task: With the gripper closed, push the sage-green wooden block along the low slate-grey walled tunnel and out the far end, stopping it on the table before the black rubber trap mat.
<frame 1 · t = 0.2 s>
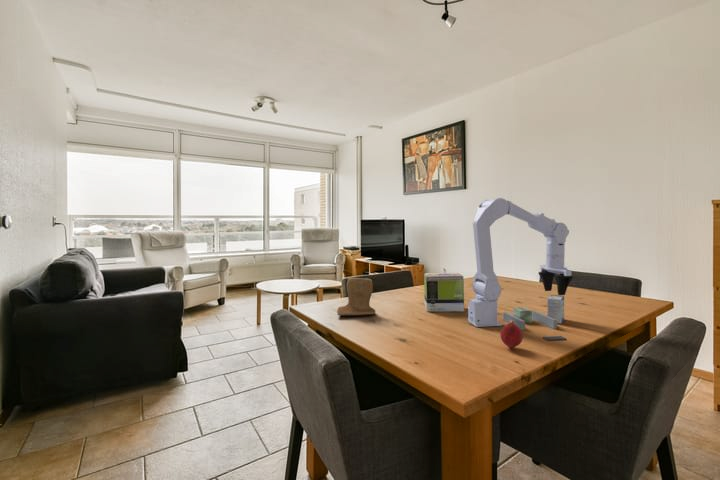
hand: (554, 292, 124), 10 cm above the table, tool pointing down, fingers open, 7 cm apart
tunnel: (528, 324, 120), on the table
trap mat: (554, 338, 104), on the table
tea box: (443, 309, 143), on the table
brown flared block: (356, 314, 136), on the table
green block: (522, 321, 124), on the table
onion: (511, 349, 97), on the table
medicine box: (555, 321, 124), on the table
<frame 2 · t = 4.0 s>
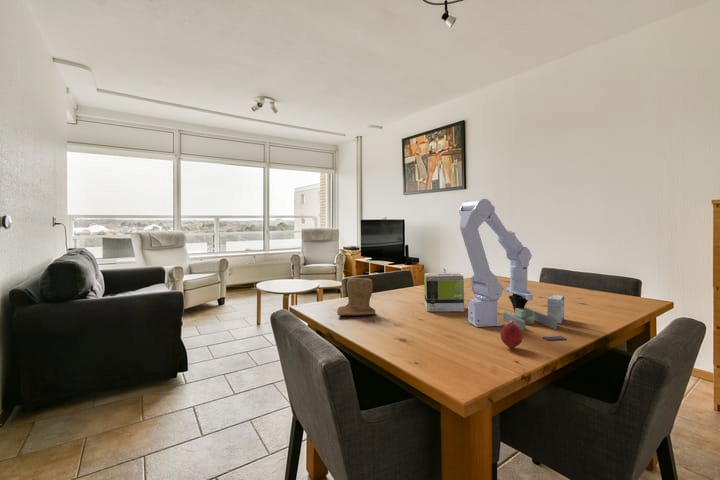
hand: (518, 315, 126), 1 cm above the table, tool pointing down, fingers closed
green block: (524, 321, 123), on the table, touching gripper
everything else where it was.
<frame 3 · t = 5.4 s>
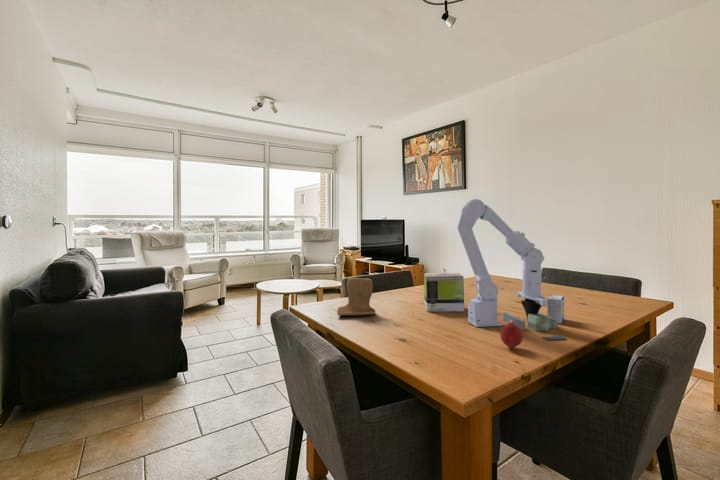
hand: (531, 321, 118), 1 cm above the table, tool pointing down, fingers closed
green block: (537, 328, 114), on the table, touching gripper
everything else where it was.
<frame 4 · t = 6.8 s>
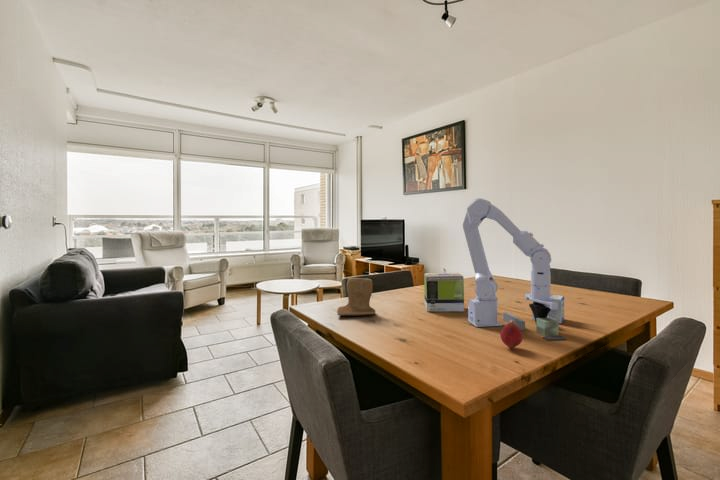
hand: (540, 325, 113), 1 cm above the table, tool pointing down, fingers closed
green block: (547, 333, 110), on the table, touching gripper
everything else where it was.
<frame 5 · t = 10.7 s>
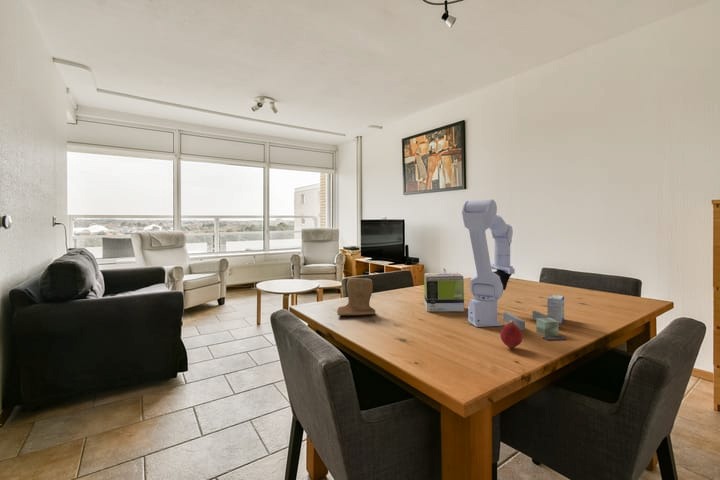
hand: (502, 289, 134), 9 cm above the table, tool pointing down, fingers closed
green block: (547, 333, 109), on the table
everything else where it was.
at the end: green block 0.3 cm from the target spot, on the table; green block touching table; green block tilted 0° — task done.
